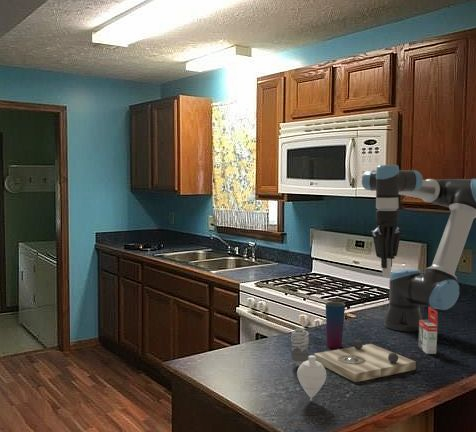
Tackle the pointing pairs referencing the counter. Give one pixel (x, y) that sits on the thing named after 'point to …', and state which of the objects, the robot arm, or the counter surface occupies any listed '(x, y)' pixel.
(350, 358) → the steel ball
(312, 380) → the spinning top
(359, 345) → the black rubber ball
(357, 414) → the counter surface
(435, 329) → the ink box
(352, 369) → the board
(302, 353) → the light bulb
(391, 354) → the black rubber ball
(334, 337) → the cup
